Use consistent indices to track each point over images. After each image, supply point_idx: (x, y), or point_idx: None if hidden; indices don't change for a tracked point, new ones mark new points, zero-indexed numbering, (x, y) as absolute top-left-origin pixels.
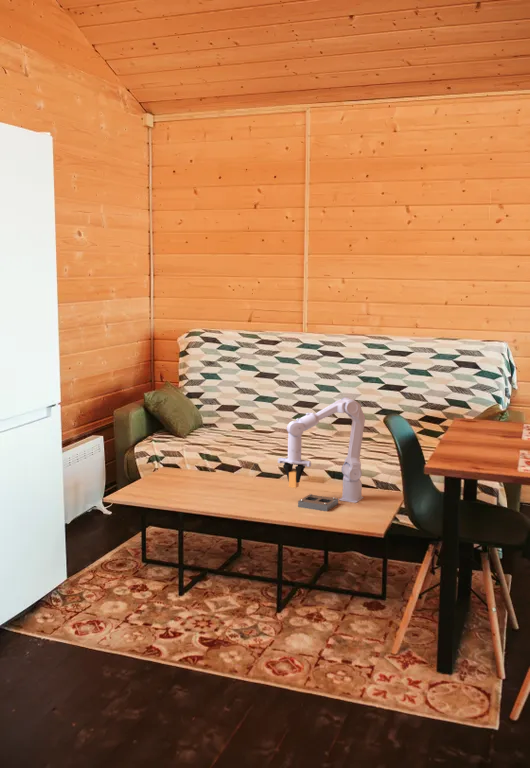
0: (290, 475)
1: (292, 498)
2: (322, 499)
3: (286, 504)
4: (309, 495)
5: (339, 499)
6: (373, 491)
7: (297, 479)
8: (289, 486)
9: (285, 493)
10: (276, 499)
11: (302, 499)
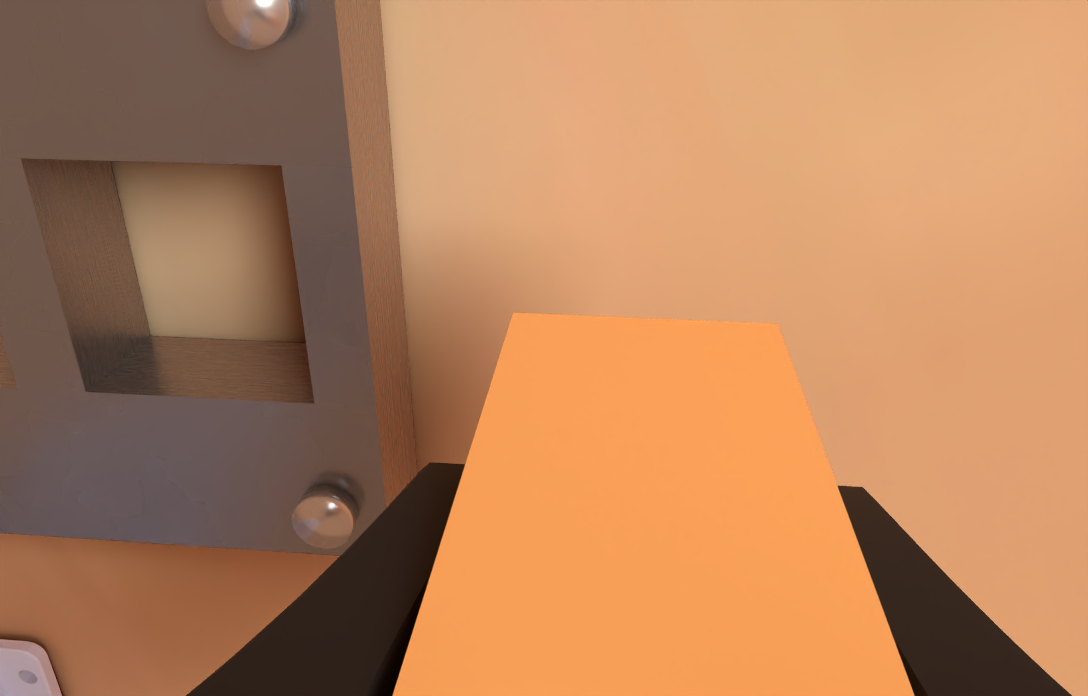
0: (780, 636)
1: None
2: (15, 380)
3: (718, 22)
4: (353, 492)
5: (25, 652)
6: None
7: (384, 517)
8: (751, 333)
9: None
10: (1058, 292)
11: (238, 22)
